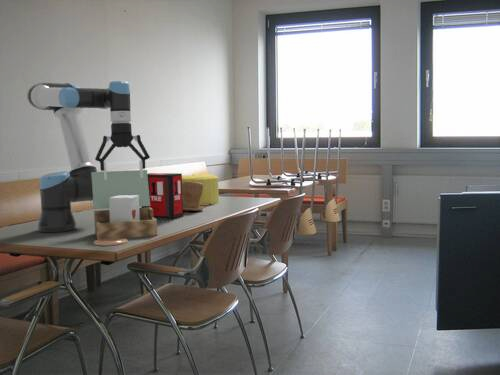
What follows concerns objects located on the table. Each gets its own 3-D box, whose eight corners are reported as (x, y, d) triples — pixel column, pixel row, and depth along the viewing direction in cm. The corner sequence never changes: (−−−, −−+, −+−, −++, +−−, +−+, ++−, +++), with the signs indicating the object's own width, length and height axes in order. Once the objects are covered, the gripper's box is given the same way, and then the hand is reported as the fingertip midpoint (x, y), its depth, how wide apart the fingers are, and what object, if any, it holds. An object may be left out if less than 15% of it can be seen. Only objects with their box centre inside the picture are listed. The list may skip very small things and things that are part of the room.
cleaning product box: (183, 216, 270) (181, 173, 268) (173, 219, 261) (172, 175, 259) (151, 215, 276) (150, 173, 274) (141, 218, 267) (140, 174, 265)
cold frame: (97, 240, 215) (96, 215, 215) (95, 233, 230) (94, 210, 229) (157, 235, 222) (156, 212, 221) (151, 229, 237) (150, 207, 236)
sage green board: (91, 172, 232) (91, 172, 233) (93, 209, 229) (93, 209, 229) (146, 169, 239) (146, 170, 240) (150, 205, 236) (150, 205, 236)
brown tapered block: (208, 209, 291) (207, 179, 290) (197, 213, 280) (196, 182, 279) (181, 208, 297) (180, 179, 295) (169, 212, 286) (168, 181, 284)
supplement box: (131, 236, 221) (130, 197, 219) (109, 236, 222) (108, 197, 221) (141, 232, 230) (139, 194, 228) (119, 232, 231) (118, 194, 230)
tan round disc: (94, 247, 203) (94, 245, 202) (92, 241, 214) (92, 239, 214) (129, 244, 206) (129, 242, 206) (125, 238, 218) (125, 236, 218)
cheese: (178, 200, 335) (177, 174, 333) (222, 200, 331) (222, 173, 330) (165, 206, 309) (164, 178, 308) (213, 206, 305) (212, 177, 304)
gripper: (87, 123, 214) (90, 180, 216) (155, 121, 222) (157, 177, 224) (86, 123, 221) (89, 179, 223) (152, 122, 229) (154, 176, 231)
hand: (123, 178), depth 224 cm, fingers open, 13 cm apart
